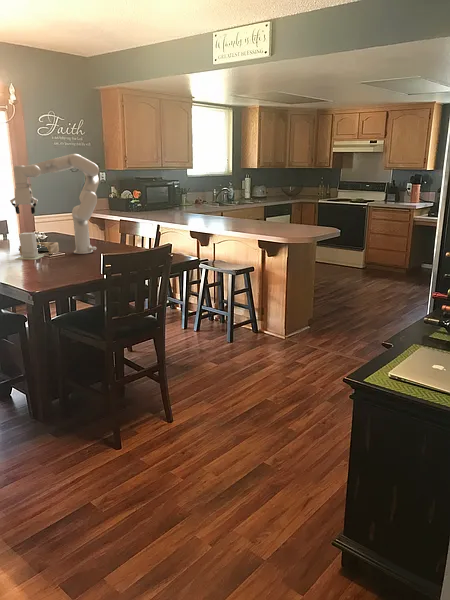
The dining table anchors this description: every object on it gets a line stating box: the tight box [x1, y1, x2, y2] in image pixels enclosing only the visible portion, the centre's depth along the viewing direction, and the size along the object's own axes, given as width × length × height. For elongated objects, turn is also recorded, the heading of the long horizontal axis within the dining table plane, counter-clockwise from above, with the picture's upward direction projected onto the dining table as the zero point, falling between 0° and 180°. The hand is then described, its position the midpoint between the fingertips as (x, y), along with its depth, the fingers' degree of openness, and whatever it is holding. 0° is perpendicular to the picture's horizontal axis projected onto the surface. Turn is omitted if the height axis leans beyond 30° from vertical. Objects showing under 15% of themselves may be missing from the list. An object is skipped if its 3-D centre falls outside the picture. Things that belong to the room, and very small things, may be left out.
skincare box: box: [18, 231, 39, 258], centre depth 320 cm, size 8×7×16 cm
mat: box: [15, 254, 45, 261], centre depth 322 cm, size 14×12×1 cm
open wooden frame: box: [18, 242, 60, 256], centre depth 336 cm, size 21×14×6 cm, turn 88°
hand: (25, 213), depth 314 cm, fingers open, 9 cm apart
